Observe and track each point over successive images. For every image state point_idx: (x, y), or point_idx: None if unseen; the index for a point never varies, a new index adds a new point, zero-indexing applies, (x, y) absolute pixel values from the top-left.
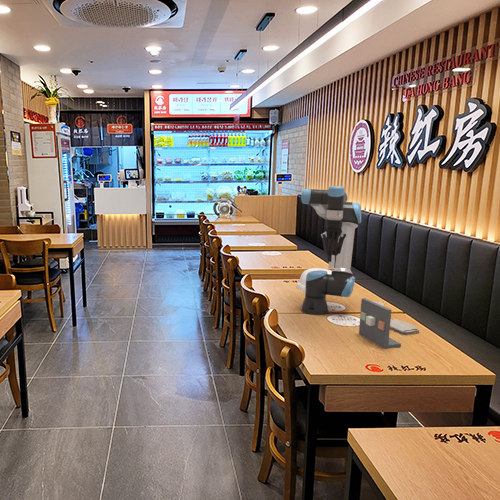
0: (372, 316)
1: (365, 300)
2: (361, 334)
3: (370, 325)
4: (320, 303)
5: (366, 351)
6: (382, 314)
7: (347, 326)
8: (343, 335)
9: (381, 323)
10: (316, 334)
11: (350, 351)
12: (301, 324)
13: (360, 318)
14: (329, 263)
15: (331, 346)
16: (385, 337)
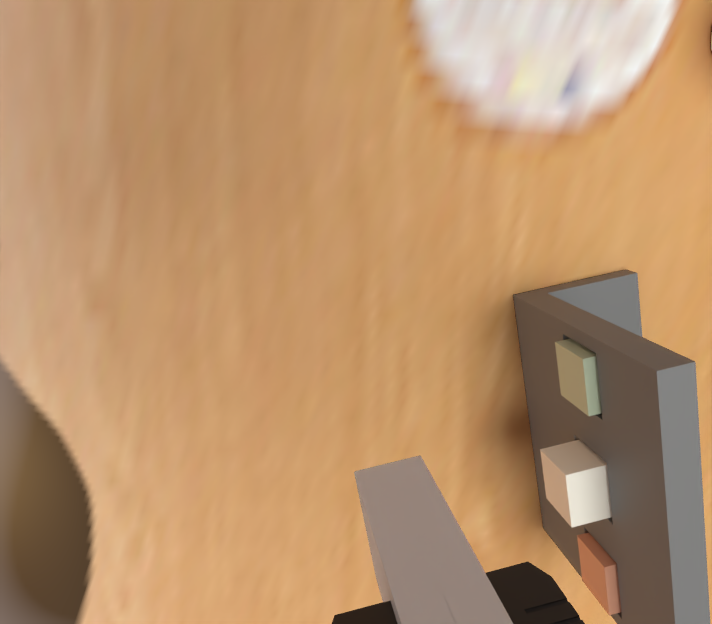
0: (608, 482)
1: (659, 430)
2: (518, 324)
3: (549, 498)
4: None
5: None
6: (645, 618)
7: (503, 135)
8: (400, 318)
9: (601, 588)
10: (218, 293)
11: (340, 564)
12: (154, 60)
13: (556, 343)
14: (378, 566)
15: (254, 497)
16: (574, 566)
